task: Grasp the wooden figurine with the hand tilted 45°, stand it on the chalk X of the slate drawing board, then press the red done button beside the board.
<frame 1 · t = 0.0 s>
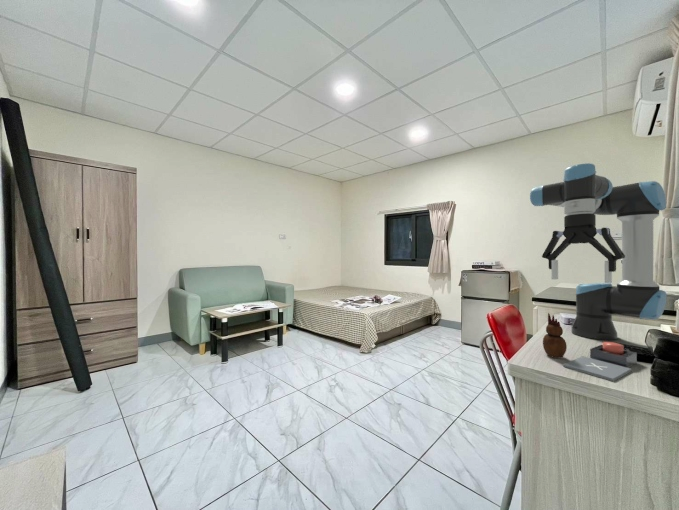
hand: (579, 280, 88), 28 cm above the table, tool pointing down, fingers open, 13 cm apart
slate board: (596, 368, 88), on the table
wooden figurine: (554, 356, 99), on the table
done button: (613, 348, 94), point 4 cm above the table, slide at 0.0 cm
button housing: (613, 360, 94), on the table
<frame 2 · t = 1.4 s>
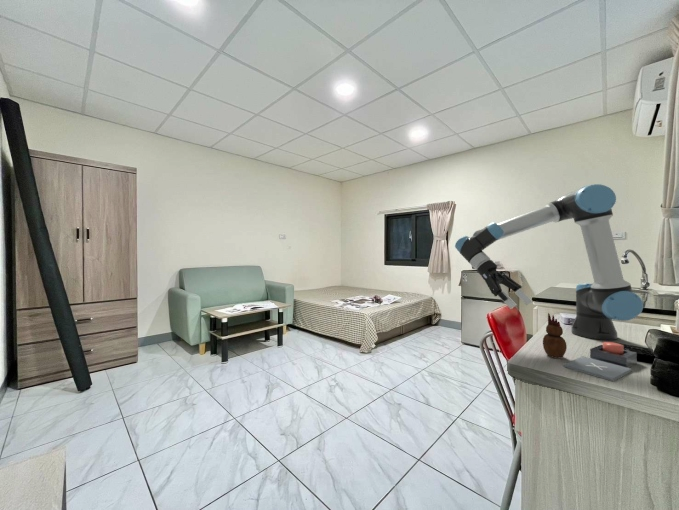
hand: (522, 305, 107), 17 cm above the table, tool tilted 45°, fingers open, 13 cm apart
nothing on the table moved.
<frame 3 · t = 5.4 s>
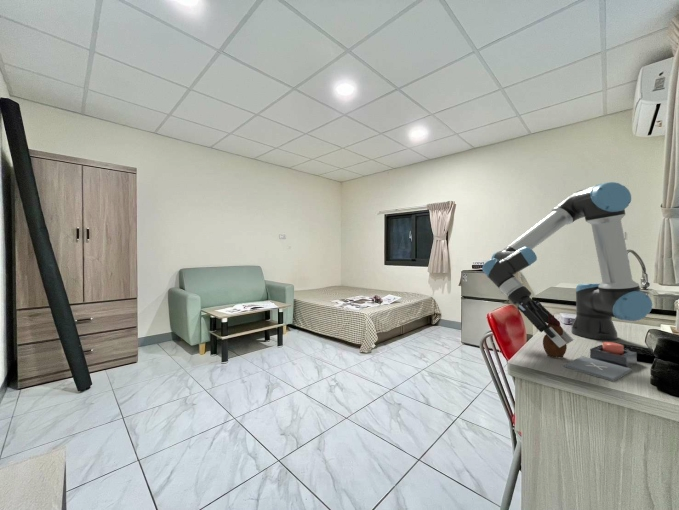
hand: (566, 343, 95), 5 cm above the table, tool tilted 45°, fingers closed on wooden figurine, 6 cm apart
wooden figurine: (554, 356, 99), on the table, touching gripper
everything else where it was.
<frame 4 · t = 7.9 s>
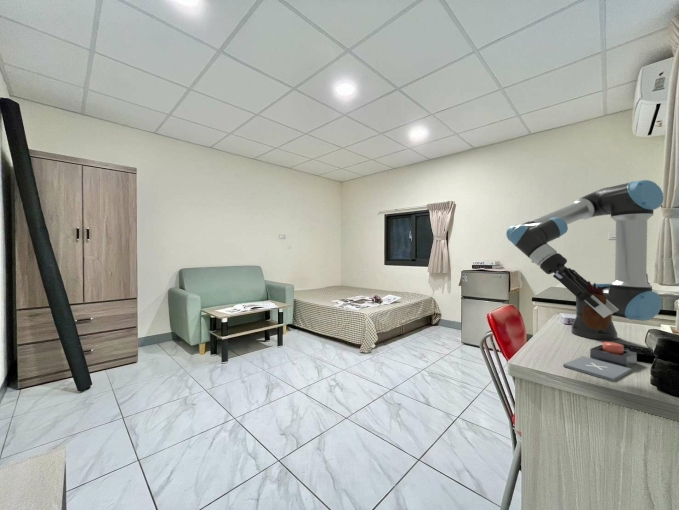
hand: (611, 313, 85), 18 cm above the table, tool tilted 45°, fingers closed on wooden figurine, 6 cm apart
wooden figurine: (595, 329, 88), point 13 cm above the table, touching gripper
everything else where it was.
when the fingers open (8 cm above the table, at t = 10.6 s): wooden figurine drops 1 cm, resting on slate board.
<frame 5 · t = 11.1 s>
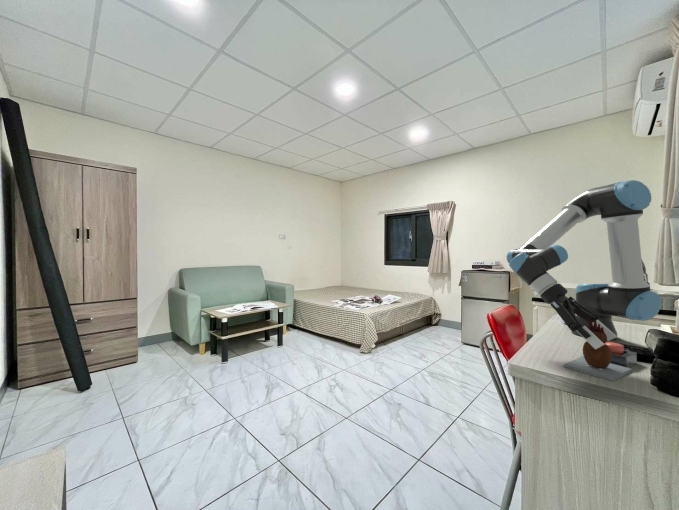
hand: (606, 342, 85), 9 cm above the table, tool tilted 45°, fingers open, 13 cm apart
wooden figurine: (596, 366, 88), point 1 cm above the table, touching slate board
everything else where it was.
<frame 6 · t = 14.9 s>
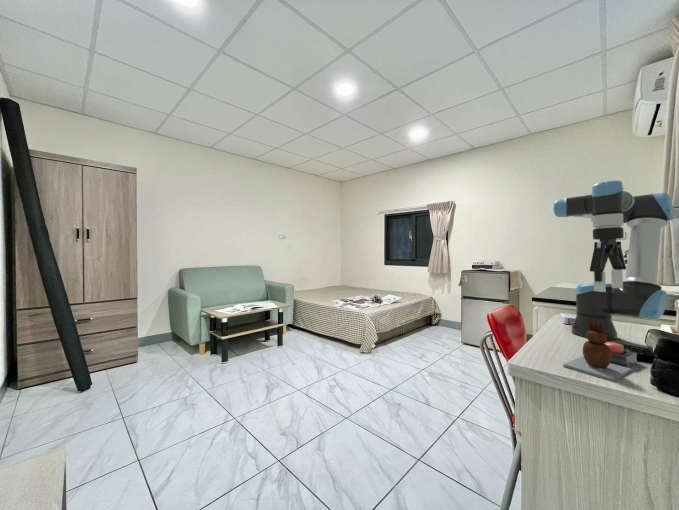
hand: (608, 289, 94), 24 cm above the table, tool pointing down, fingers open, 13 cm apart
nothing on the table moved.
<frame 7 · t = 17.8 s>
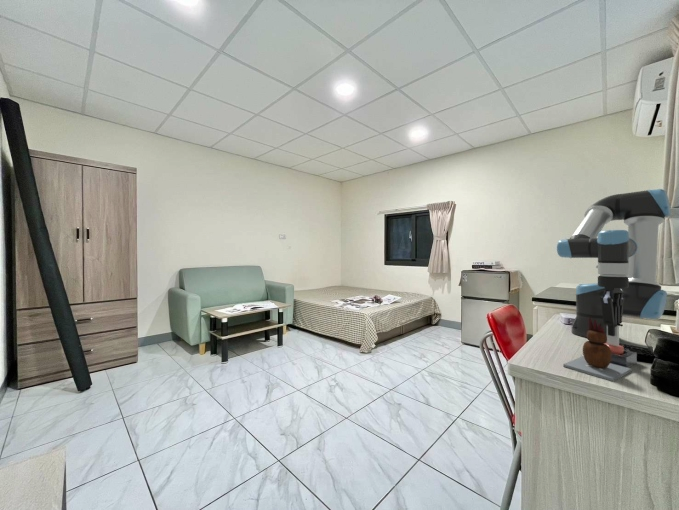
hand: (612, 344, 94), 6 cm above the table, tool pointing down, fingers closed
done button: (613, 349, 94), point 4 cm above the table, slide at 0.4 cm, touching gripper
everything else where it was.
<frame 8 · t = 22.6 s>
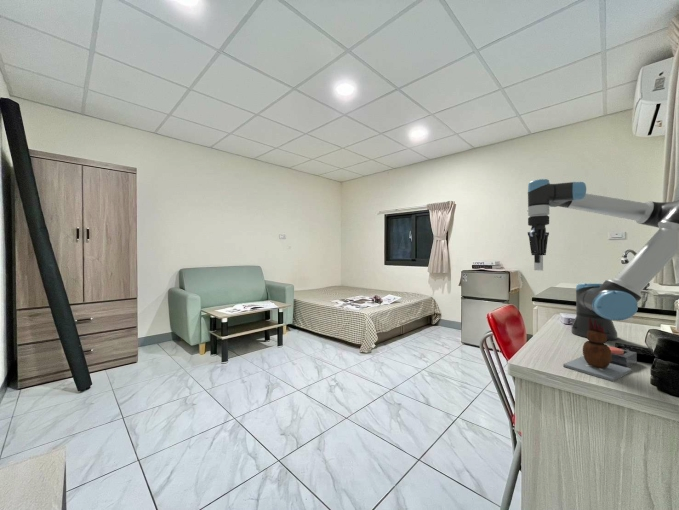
hand: (538, 270, 120), 29 cm above the table, tool pointing down, fingers closed
done button: (613, 353, 94), point 3 cm above the table, slide at 1.6 cm
everything else where it was.
at the end: wooden figurine inside the target area on the slate board (0.2 cm from its centre), point 0.6 cm above the slate board's base; wooden figurine tilted 0°; done button slide at 1.6 cm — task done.
